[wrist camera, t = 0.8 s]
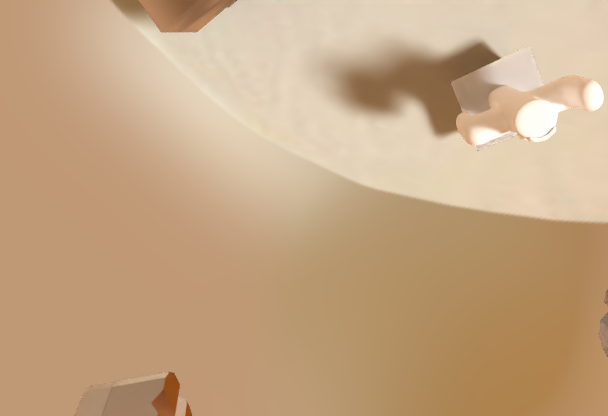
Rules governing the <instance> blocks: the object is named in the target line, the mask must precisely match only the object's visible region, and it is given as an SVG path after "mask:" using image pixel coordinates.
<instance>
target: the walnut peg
mask: <svg viewBox="0 0 608 416" xmlns="http://www.w3.org/2000/svg"><path fill="white" fill-rule="evenodd" d="M138 1H139V2H140V3H141V5H142V6H143V7H144V9H145V10H146V12H147V13H148V14H149V16H150V17H151V19H152V20H153V21H154V23H155V24H156V26H157V27H158V28H159V30H160V31H161V32H198V31H199V30H200V29H201V28H202V27H204V26H205V25H206V24H207V23H208V22H209V21H211V20H212V19H213V18H214V17H215V16H217V15H218V14H219V13H220V12H221V11H223V10H224V9H225V8H226V7H230V6H231V5H232V4H233V3H234V2H236V1H237V0H138Z"/></svg>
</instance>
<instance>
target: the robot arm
mask: <svg viewBox="0 0 608 416" xmlns="http://www.w3.org/2000/svg"><path fill="white" fill-rule="evenodd" d="M604 303H605V304H606V305H607V306H608V290H607V291H606V295H605V300H604ZM599 336H600V340H601V344H602V347H603V350H604V351H605V353H606V355H607V357H608V313H607V314H606V315H605V316H604V317H603V318H602V319H601V321H600V329H599ZM179 389H180V384H179V381H178V379H177V378H176V375H175V373H173V372H165V373H159V374H154V375H148V376H142V377H137V378H130V379H124V380H119V381H116V382H110V383H104V384H97V385H91V386H90V387H89V388H88V389H87V390H86V391H85V392H84V394H83V395H82V398H81V401H80V403H79V406H78V408H77V411H76V413H75V416H192V413H191V409H190V406H189V404H188V402H187V401H186V400H185V399H183V398H181V397H179V396H178V395H179Z"/></svg>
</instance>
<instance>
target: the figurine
mask: <svg viewBox="0 0 608 416" xmlns="http://www.w3.org/2000/svg"><path fill="white" fill-rule="evenodd" d="M450 83H451V85H452V88H453V90H454V93H455V95H456V98H457V100H458V103H459V105H460V108H461V110H462V113H461V114H459V115H458V117H457V119H456V125H457V129H458V131H459V133H460V134H461V136H462V137H463V139H464V140H465V141H466V142H467V143H468V144H470V145H476V147H477V150H478V151H480V150H482V149H484V148H487V147H489V146H492V145H494V144H496V143H499V142H501V141H504V140H506V139H509V138H511V137H513V136H516V135H518V136H519V139H525V140H528V141H532V142H539V141H544V140H546V139H548V138H549V137H551V136H552V135H553V134H554V133H555V131H556V127H555V124H556V121H557V113H558V112H560V111H563V110H566V109H572V108H578V109H582V110H585V111H595V110H597V109H598V108H599V107H600V106H601V105H602V103H603V92H602V89H601V87H600V86H599V84H598V83H597V82H595V81H594V80H591V79H587V78H583V77H579V76H566V77H562V78H560V79H558V80H555V81H553V82H551V83H549V84H546V85H543V82H542V79H541V76H540V73H539V71H538V68H537V65H536V62H535V59H534V56H533V54H532V51H531V48H530V45H529V46H527V47H525V48H522V49H520V50H518V51H516V52H514V53H512V54H510V55H507V56H505V57H503V58H501V59H499V60H497V61H495V62H492V63H490V64H488V65H486V66H484V67H482V68H480V69H477V70H475V71H473V72H471V73H469V74H467V75H465V76H462V77H460V78H458V79H456V80H454V81H452V82H450Z"/></svg>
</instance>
